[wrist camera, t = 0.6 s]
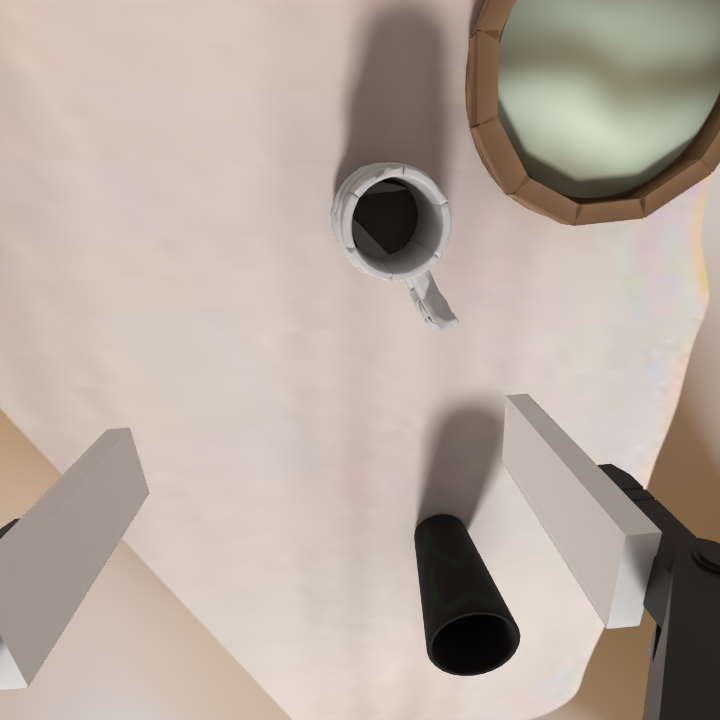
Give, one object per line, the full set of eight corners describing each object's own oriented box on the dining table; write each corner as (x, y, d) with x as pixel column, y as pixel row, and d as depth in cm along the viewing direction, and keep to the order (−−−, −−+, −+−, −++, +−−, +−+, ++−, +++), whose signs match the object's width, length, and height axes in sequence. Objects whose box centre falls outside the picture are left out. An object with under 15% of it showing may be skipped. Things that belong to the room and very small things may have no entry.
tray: (464, -95, 27) (477, -125, 24) (773, -124, 27) (819, -157, 25) (466, 232, 34) (476, 236, 32) (709, 206, 35) (740, 207, 32)
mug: (401, 143, 32) (438, 116, 21) (464, 281, 36) (522, 322, 25) (313, 195, 33) (302, 197, 22) (383, 324, 37) (405, 382, 26)
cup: (404, 509, 44) (427, 616, 33) (476, 503, 44) (524, 607, 33) (405, 565, 47) (427, 680, 36) (473, 559, 47) (516, 672, 36)
